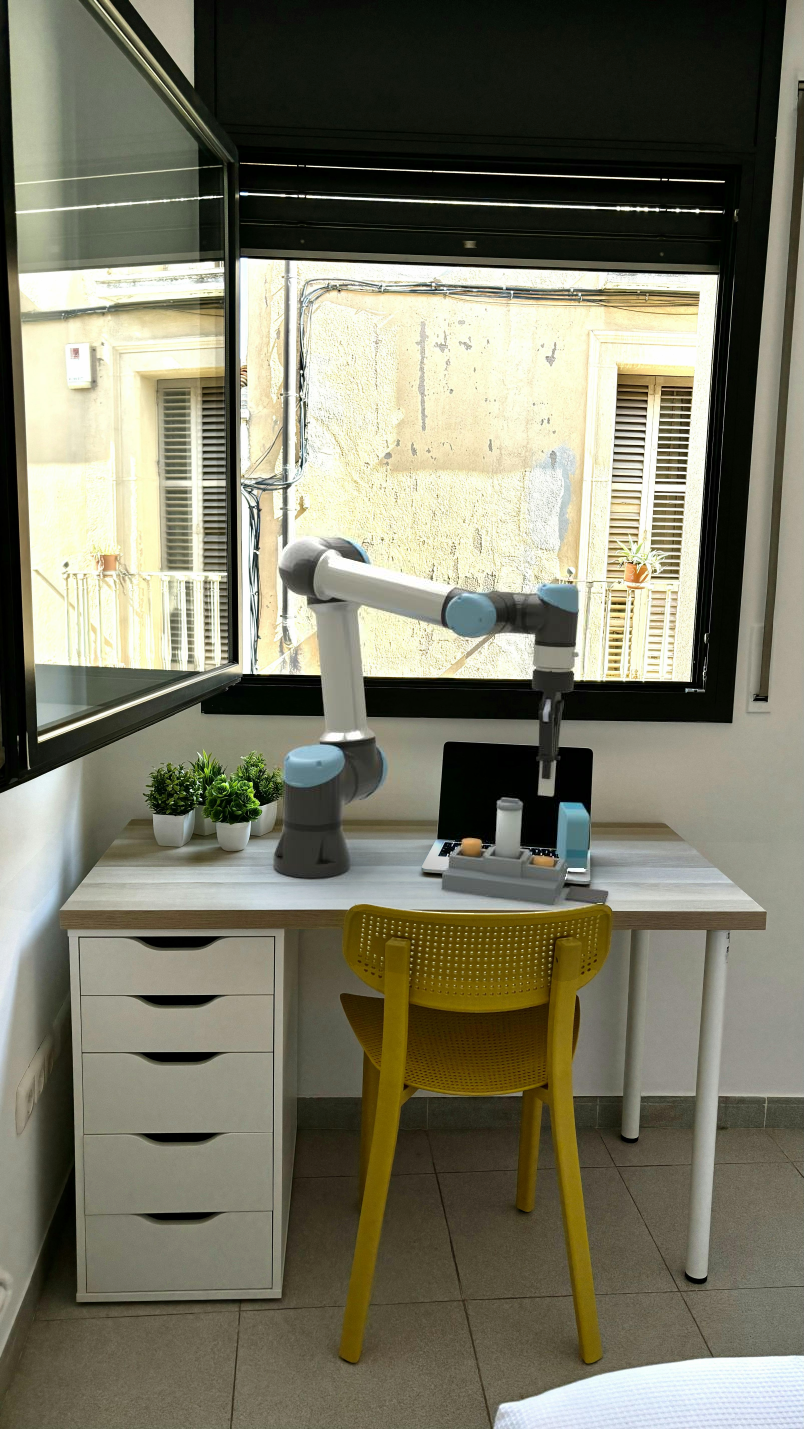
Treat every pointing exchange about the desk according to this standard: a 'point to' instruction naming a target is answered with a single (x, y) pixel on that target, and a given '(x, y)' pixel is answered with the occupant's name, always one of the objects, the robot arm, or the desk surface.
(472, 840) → the plunger left
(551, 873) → the housing
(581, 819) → the data package
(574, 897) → the mat
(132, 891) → the desk surface
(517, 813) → the cylinder
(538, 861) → the plunger right
